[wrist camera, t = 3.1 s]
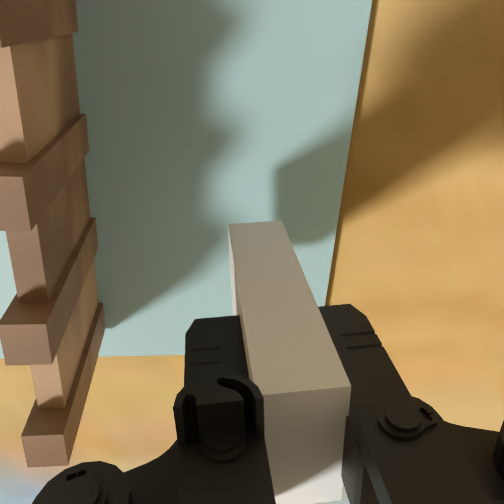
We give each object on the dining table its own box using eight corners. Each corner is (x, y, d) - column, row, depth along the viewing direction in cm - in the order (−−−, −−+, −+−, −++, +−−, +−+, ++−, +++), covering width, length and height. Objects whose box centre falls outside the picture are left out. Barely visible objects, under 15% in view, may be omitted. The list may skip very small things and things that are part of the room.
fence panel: (31, -42, 11) (-89, -79, 6) (72, -38, 11) (-18, -73, 6) (79, 340, 16) (30, 481, 11) (106, 340, 16) (70, 479, 11)
